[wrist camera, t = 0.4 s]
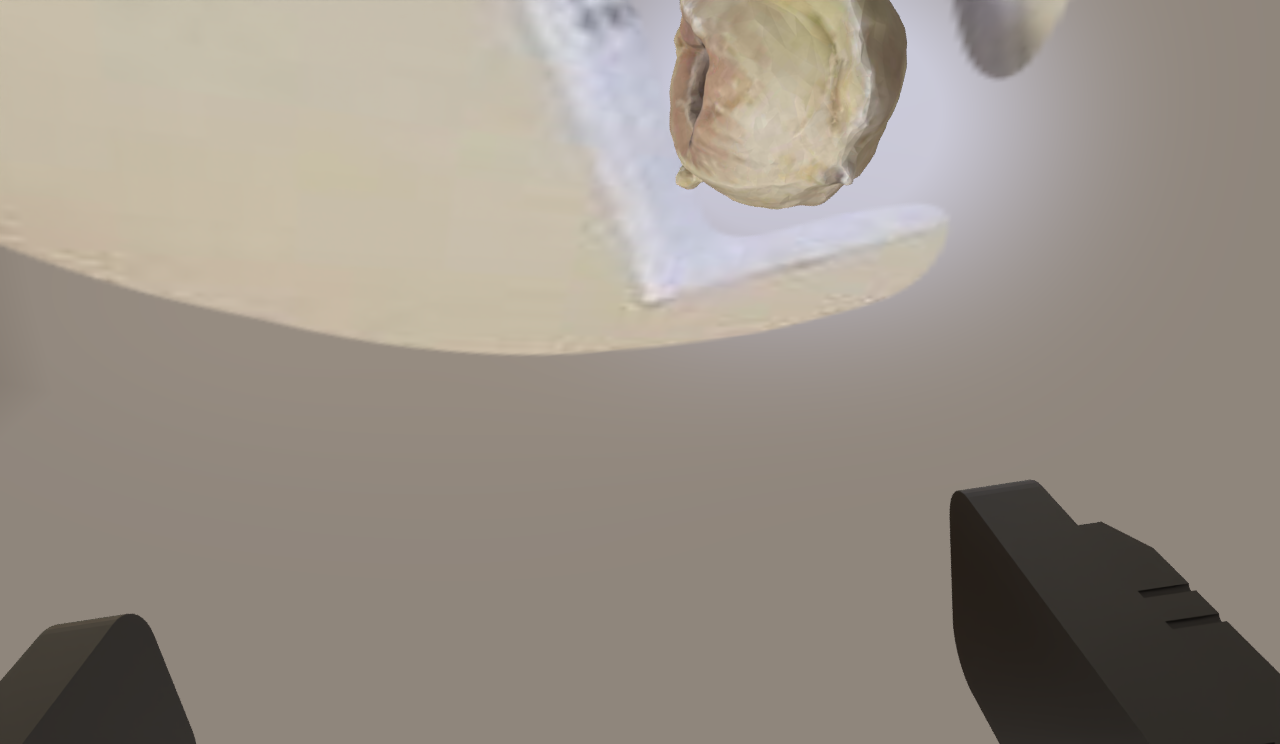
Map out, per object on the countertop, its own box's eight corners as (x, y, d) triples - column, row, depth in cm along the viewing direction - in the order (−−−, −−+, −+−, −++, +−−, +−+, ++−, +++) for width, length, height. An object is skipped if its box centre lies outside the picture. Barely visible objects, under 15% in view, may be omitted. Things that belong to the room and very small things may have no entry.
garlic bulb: (777, -106, 36) (917, -132, 27) (874, 87, 40) (1024, 119, 31) (574, 46, 36) (648, 70, 27) (691, 224, 40) (789, 296, 31)
